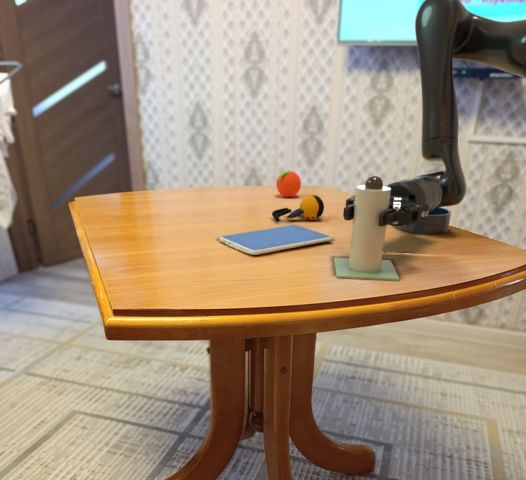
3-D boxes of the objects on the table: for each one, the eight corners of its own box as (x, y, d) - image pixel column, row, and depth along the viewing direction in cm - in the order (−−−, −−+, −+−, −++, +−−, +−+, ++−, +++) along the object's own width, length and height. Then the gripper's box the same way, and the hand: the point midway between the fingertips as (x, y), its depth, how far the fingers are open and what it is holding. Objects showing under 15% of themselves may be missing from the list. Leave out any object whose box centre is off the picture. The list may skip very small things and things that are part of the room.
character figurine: (284, 233, 114) (331, 213, 116) (275, 209, 113) (322, 189, 115) (272, 235, 124) (315, 217, 126) (263, 213, 122) (307, 195, 124)
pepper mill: (378, 263, 88) (390, 173, 81) (382, 273, 83) (395, 179, 77) (347, 261, 88) (356, 172, 82) (349, 271, 84) (359, 177, 77)
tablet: (253, 257, 91) (253, 250, 90) (217, 241, 100) (217, 235, 99) (333, 243, 101) (334, 236, 100) (294, 229, 110) (295, 223, 109)
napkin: (390, 262, 90) (390, 260, 90) (399, 281, 81) (399, 278, 81) (333, 259, 91) (334, 257, 91) (336, 278, 82) (336, 275, 82)
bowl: (440, 225, 116) (444, 205, 114) (452, 238, 106) (456, 216, 104) (392, 223, 117) (394, 203, 115) (399, 235, 107) (402, 214, 105)
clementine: (288, 200, 139) (289, 173, 136) (268, 197, 143) (269, 170, 140) (305, 196, 145) (306, 170, 141) (285, 193, 149) (286, 168, 145)
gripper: (372, 175, 94) (325, 186, 82) (449, 184, 87) (410, 198, 74) (367, 216, 98) (322, 232, 85) (441, 228, 90) (402, 248, 78)
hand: (363, 216), depth 80 cm, fingers closed on pepper mill, 5 cm apart
